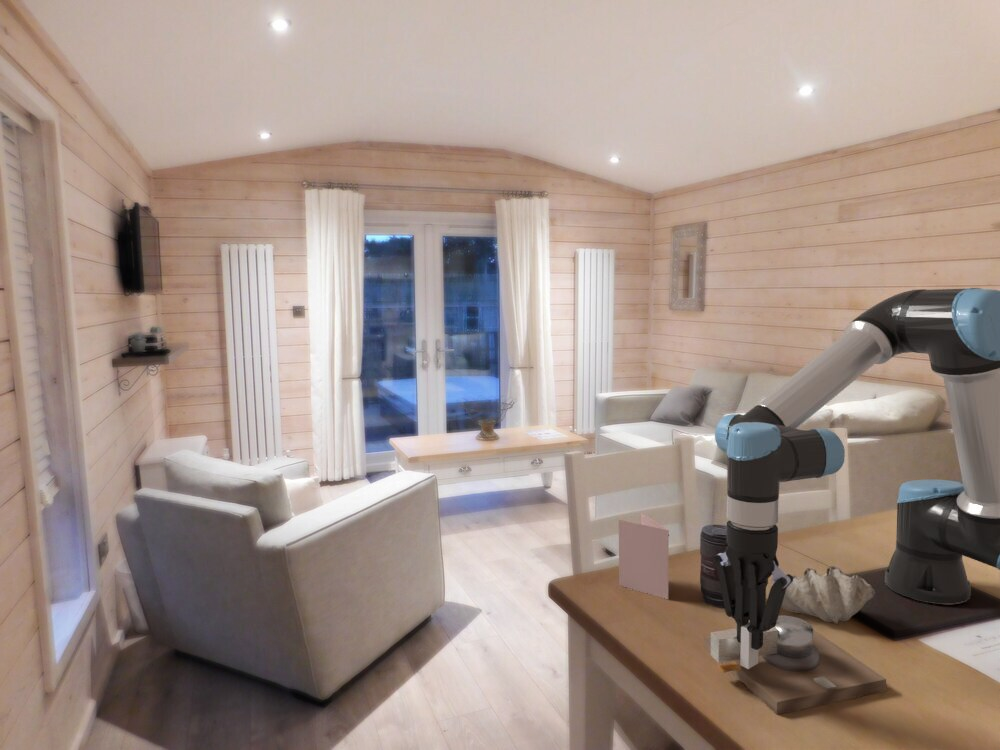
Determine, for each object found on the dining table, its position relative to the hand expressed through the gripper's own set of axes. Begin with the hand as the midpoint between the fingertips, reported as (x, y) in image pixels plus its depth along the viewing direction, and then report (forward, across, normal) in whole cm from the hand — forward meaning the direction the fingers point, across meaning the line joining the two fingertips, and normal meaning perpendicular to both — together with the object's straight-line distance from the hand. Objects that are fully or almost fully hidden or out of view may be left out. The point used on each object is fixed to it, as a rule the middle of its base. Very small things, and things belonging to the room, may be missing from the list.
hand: (749, 664), depth 106 cm
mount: (+4, 0, -9) cm, 10 cm away
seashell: (+4, +4, -32) cm, 32 cm away
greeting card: (+4, +34, -14) cm, 37 cm away
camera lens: (+4, +21, -22) cm, 31 cm away
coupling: (0, +1, -5) cm, 5 cm away
